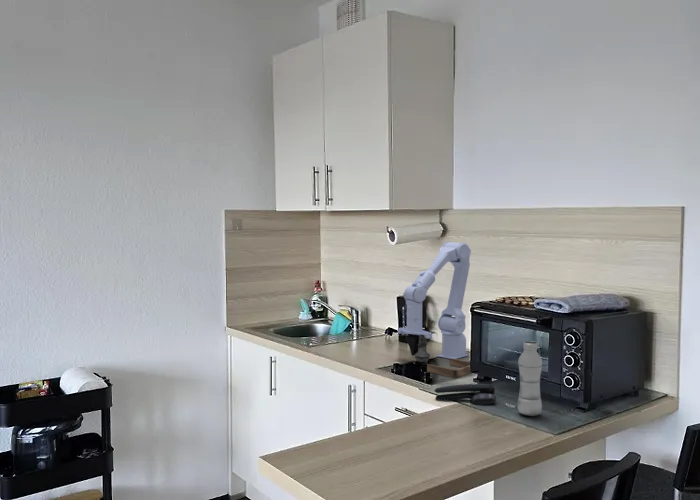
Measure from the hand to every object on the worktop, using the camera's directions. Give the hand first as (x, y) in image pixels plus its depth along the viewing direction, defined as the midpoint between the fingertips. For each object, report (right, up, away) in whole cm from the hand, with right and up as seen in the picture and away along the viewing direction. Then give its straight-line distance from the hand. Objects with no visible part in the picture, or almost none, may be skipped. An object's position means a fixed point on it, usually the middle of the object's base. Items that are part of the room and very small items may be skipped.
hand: (414, 355), depth 232 cm
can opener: (+10, -6, -47) cm, 48 cm away
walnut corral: (+12, -4, -12) cm, 18 cm away
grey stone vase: (+2, -3, -2) cm, 5 cm away
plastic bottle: (+25, -7, -60) cm, 66 cm away
